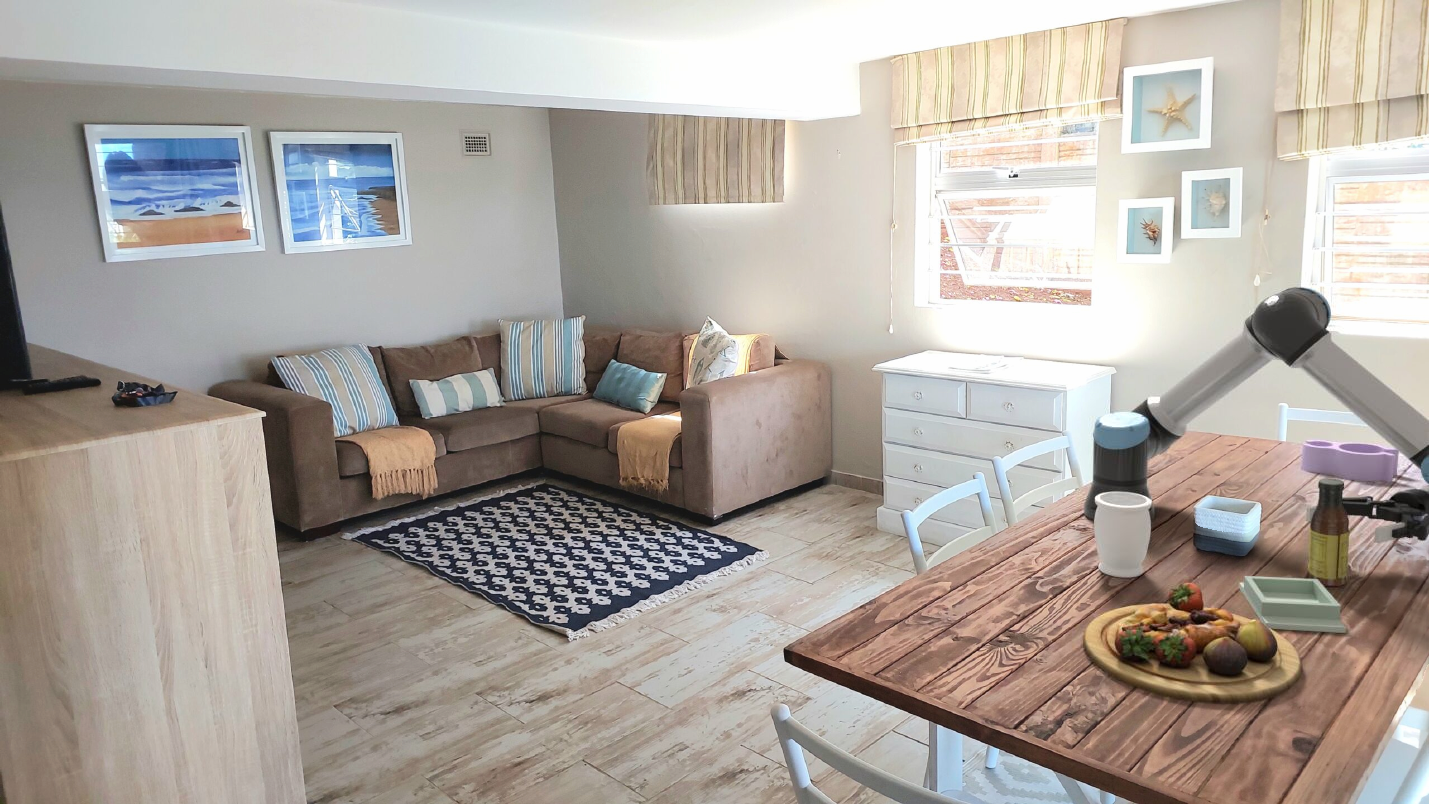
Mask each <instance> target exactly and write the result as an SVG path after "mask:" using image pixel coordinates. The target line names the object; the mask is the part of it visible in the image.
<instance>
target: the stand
mask: <svg viewBox="0 0 1429 804" xmlns="http://www.w3.org/2000/svg"><path fill="white" fill-rule="evenodd" d="M1238 583H1239V584H1238V587H1239V590H1240V591H1241V592H1242V593H1243V594H1242V595H1243V596H1244V598H1245V599H1246V600H1247V602H1248V603H1249V605H1250V606H1251V608H1252V610H1253V611H1254V613H1255V614H1256V616H1257V617H1258V618H1259V621H1260V622H1261V623H1262V624H1264V625H1265V626H1266V627H1268V628H1270V629H1272V630H1285V631H1286V630H1287V631H1289V630H1290V631H1302V632H1303V631H1304V632H1318V633H1319V632H1320V633H1322V632H1324V633H1336V634H1337V633H1340V634H1341V633H1342V634H1346V633H1347V632H1346V631H1347V627H1346V626H1345V625H1344V623H1343V621H1341V610H1342V609H1341V608H1342V606H1341V604H1339V602H1338V601H1337V600H1336V598H1334V596H1333V595H1332V594H1331V593H1330V592H1329V591H1328V590H1327V588H1326V587H1325V586H1324V585H1322V584H1321V583H1320V581H1319V580H1318V579H1310V578H1300V577H1299V578H1298V577H1278V576H1277V577H1275V576H1257V575H1256V576H1253V575H1251V576H1250V575H1244V576H1243V582H1238Z"/></svg>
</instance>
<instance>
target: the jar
mask: <svg viewBox="0 0 1429 804" xmlns="http://www.w3.org/2000/svg"><path fill="white" fill-rule="evenodd" d="M1151 499H1152V498H1151ZM1151 499H1149V498H1148V497H1146V496H1143V495H1140V494H1135V493H1129V492H1106V493H1101V494H1099V495H1097V496H1096V497H1095V503H1096V504H1097V505H1098V507H1097V509H1096V513H1095V519H1094V520H1093V531H1094V539H1095V547H1096V552H1097V555H1098V558H1099V560H1100V562H1099V563H1098V569H1099V571H1100V572H1101V573H1103V574H1105V575H1108V576H1110V577H1115V578H1116V577H1117V578H1124V579H1125V578H1126V579H1127V578H1135V577H1139V576H1141V575H1142V574H1143V573H1144V568H1143V566H1142V564H1143V562H1144V560H1145V559H1146V556H1147V552H1148V547H1149V543H1150V540H1151V539H1150V538H1151V532H1152V531H1151V530H1152V529H1151V528H1152V526H1151V524H1152V521H1150V514H1149V511H1148V509H1149V508H1150V507H1151V502H1153V500H1152V501H1151Z"/></svg>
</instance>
